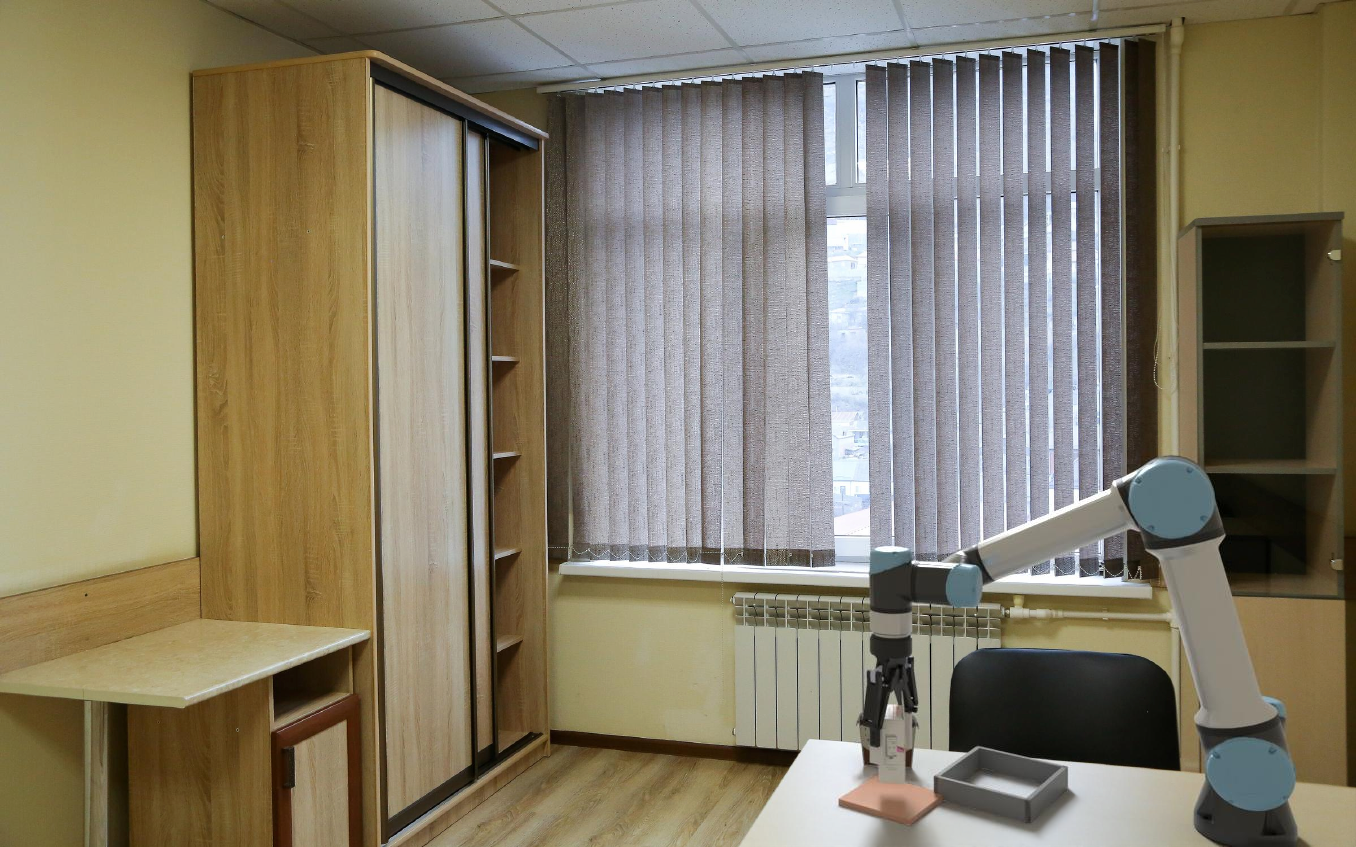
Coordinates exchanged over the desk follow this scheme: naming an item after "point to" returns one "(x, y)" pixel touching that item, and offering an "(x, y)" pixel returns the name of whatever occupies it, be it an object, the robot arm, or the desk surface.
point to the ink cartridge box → (894, 745)
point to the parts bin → (998, 801)
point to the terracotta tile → (891, 800)
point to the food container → (866, 743)
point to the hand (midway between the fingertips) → (891, 754)
